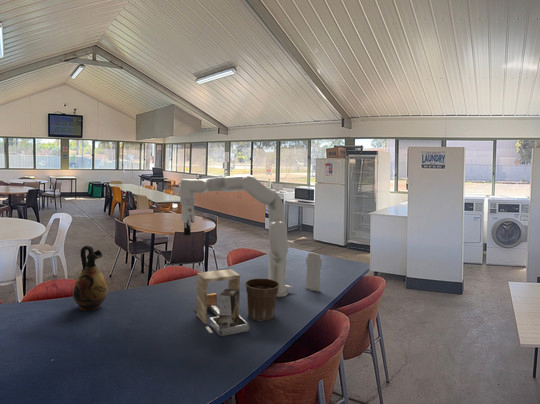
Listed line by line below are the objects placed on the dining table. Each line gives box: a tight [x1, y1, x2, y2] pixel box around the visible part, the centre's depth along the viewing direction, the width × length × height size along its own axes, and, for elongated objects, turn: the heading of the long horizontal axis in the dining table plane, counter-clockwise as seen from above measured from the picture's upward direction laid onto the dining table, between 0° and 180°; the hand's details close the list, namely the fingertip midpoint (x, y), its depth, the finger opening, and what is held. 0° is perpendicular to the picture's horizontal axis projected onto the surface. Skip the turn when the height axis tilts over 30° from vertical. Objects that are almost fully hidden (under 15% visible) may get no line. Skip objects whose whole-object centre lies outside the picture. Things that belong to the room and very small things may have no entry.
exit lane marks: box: [205, 326, 213, 334], centre depth 167 cm, size 18×6×1 cm, turn 118°
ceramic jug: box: [72, 244, 108, 312], centre depth 184 cm, size 17×15×30 cm
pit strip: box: [193, 305, 219, 313], centre depth 188 cm, size 16×3×1 cm, turn 118°
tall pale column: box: [305, 252, 323, 292], centre depth 221 cm, size 11×4×22 cm, turn 51°
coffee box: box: [218, 288, 239, 328], centre depth 166 cm, size 9×6×16 cm
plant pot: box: [244, 277, 280, 322], centre depth 179 cm, size 16×16×16 cm
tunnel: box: [196, 268, 241, 325], centre depth 177 cm, size 17×11×20 cm, turn 118°
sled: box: [207, 293, 250, 337], centre depth 175 cm, size 13×33×6 cm, turn 28°
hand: (187, 235), depth 208 cm, fingers closed
